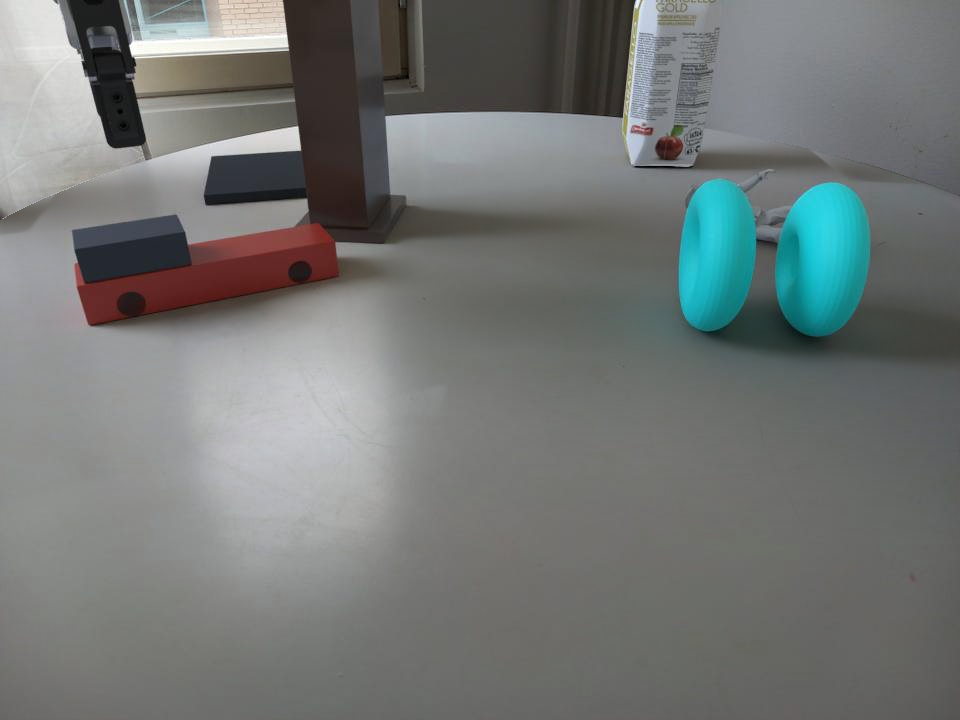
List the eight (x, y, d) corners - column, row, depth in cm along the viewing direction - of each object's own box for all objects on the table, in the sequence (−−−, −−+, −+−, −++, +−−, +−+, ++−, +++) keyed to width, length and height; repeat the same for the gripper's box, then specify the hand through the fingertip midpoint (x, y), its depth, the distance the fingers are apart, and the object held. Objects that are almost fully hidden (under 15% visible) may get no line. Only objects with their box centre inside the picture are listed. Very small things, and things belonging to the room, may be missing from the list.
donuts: (849, 366, 47) (895, 214, 42) (688, 357, 48) (713, 208, 43) (806, 296, 55) (840, 163, 50) (670, 290, 56) (689, 159, 51)
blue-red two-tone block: (322, 256, 62) (315, 192, 59) (339, 276, 58) (332, 209, 55) (85, 300, 55) (63, 229, 52) (88, 326, 51) (65, 251, 48)
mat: (213, 164, 84) (211, 156, 84) (302, 158, 86) (301, 150, 86) (205, 205, 72) (203, 195, 72) (309, 197, 75) (308, 187, 74)
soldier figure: (805, 278, 60) (672, 213, 63) (788, 294, 65) (665, 233, 67) (849, 198, 61) (716, 137, 63) (828, 220, 66) (705, 162, 68)
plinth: (327, 201, 73) (285, -185, 57) (406, 205, 73) (386, -186, 57) (293, 239, 65) (233, -203, 49) (383, 243, 64) (352, -204, 48)
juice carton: (702, 170, 83) (732, -21, 73) (624, 169, 83) (644, -22, 73) (688, 151, 89) (714, -26, 79) (616, 150, 89) (634, -27, 80)
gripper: (-26, -164, 44) (55, 115, 53) (-45, -192, 33) (61, 166, 42) (111, -159, 47) (167, 104, 56) (133, -183, 36) (199, 149, 45)
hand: (121, 130), depth 49 cm, fingers open, 8 cm apart
